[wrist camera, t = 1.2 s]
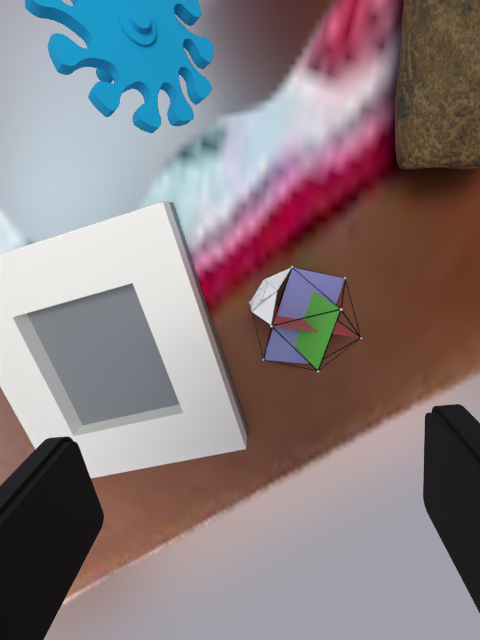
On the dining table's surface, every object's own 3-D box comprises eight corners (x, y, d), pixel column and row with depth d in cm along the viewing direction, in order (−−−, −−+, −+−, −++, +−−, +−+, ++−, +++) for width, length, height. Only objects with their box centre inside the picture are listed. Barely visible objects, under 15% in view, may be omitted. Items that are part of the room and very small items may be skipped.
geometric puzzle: (392, 289, 23) (346, 292, 17) (356, 375, 25) (303, 406, 19) (304, 258, 27) (241, 252, 21) (279, 335, 29) (216, 350, 23)
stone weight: (378, -110, 18) (439, -279, 12) (516, -142, 17) (660, -343, 11) (379, 183, 23) (423, 174, 16) (488, 167, 22) (579, 151, 16)
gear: (229, 135, 21) (52, 103, 15) (182, 164, 25) (32, 148, 19) (206, -72, 19) (-8, -209, 13) (160, -1, 24) (-15, -78, 17)
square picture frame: (172, 202, 24) (162, 201, 22) (247, 429, 30) (246, 448, 27) (-34, 268, 27) (-63, 274, 24) (71, 464, 32) (55, 484, 30)
